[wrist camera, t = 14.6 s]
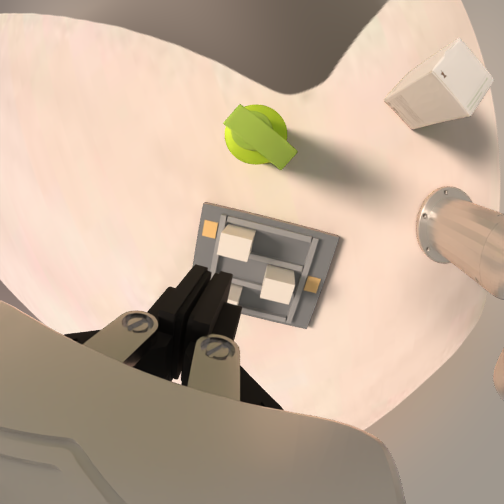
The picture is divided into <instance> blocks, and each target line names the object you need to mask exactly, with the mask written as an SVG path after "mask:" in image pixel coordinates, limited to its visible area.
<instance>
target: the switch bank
mask: <svg viewBox="0 0 504 504" xmlns="http://www.w3.org/2000/svg"><path fill="white" fill-rule="evenodd" d="M228 224H232V225H237V226H241V227H245V228H249V229H253V230H256V233H255V237H254V241H253V245H252V250H251V253H250V255H249V258H248V261H247V262H244V261H240V260H236V259H232V258H229V257H225V256H221V255H217V251H218V246H219V241H220V235H221V232H222V231H223V230H224V229H225V227H226V226H227V225H228ZM338 240H339V236H338V235H335V234H331V233H328V232H324V231H320V230H317V229H313V228H309V227H305V226H302V225H298V224H294V223H290V222H286V221H282V220H278V219H275V218H271V217H267V216H263V215H258V214H254V213H250V212H246V211H242V210H238V209H234V208H229V207H225V206H221V205H217V204H212V203H208V202H205V203H203V208H202V213H201V219H200V225H199V230H198V236H197V242H196V248H195V255H194V261H193V266H194V265H195V264H197V265H201V266H204V267H208V271H210V272H212V274H211V279H212V277H213V275H214V273H218V274H219V273H220V271H223V272H227V273H231V274H233V278H232V282H231V283H232V284H236V285H240V286H243V287H242V292H241V296H240V300H239V304H238V306H242V311H241V314H244V315H248V316H252V317H256V318H260V319H265V320H269V321H273V322H277V323H282V324H286V325H290V326H295V327H299V328H304V329H307V327H308V324H309V322H310V319H311V317H312V314H313V311H314V309H315V306H316V303H317V301H318V298H319V295H320V293H321V290H322V287H323V284H324V282H325V279H326V276H327V273H328V270H329V267H330V264H331V261H332V258H333V255H334V252H335V249H336V246H337V243H338ZM267 264H269V265H273V266H277V267H281V268H285V269H289V270H293V271H294V278H295V287H294V290H293V293H292V296H291V299H290V302H289V305H288V304H284V303H280V302H275V301H271V300H267V299H263V298H260V294H261V289H262V283H263V279H264V276H265V272H266V268H267Z"/></svg>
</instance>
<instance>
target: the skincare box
mask: <svg viewBox="0 0 504 504" xmlns="http://www.w3.org/2000/svg"><path fill="white" fill-rule="evenodd" d="M493 81H494V79H493V78H492V76H491V75H490V73H489V72H488V71H487V69H486V68H485V67H484V66H483V64H482V63H481V62H480V61H479V60H478V58H477V57H476V56H475V55H474V54H473V52H472V51H471V50H470V49H469V48H468V47H467V45H466V44H465V43H464V42H463V41H462V40H461V39H460V38H458V39H456V40H454V41H453V42H452V43H450V44H449V45H447V46H446V47H444V48H443V49H441V50H440V51H438V52H437V53H435V54H434V55H432V56H431V57H430V58H428V59H427V60H425V61H424V62H423V63H421V64H420V65H418V66H417V67H415V68H414V69H412V70H411V71H410V72H408V73H407V74H406V75H405V76H404V78H403V79H402V80H401V81H400V82H399V83H398V84H397V85H396V86H395V87H394V88H393V90H392V91H391V92H390V93H389V94H388V95H387V96H386V98H385V99H384V101H385V102H386V103H387V104H388V105H389V106H390V107H391V108H392V109H393V110H394V111H395V112H396V113H397V114H398V115H399V116H400V117H401V118H402V120H403V121H404V122H405V123H406V124H407V125H408V126H409V127H410V128H411V129H412V130H413V129H417V128H421V127H425V126H429V125H433V124H437V123H441V122H446V121H450V120H455V119H460V118H465V117H471V115H472V114H473V112H474V111H475V109H476V108H477V106H478V105H479V103H480V102H481V100H482V99H483V97H484V96H485V94H486V93H487V91H488V90H489V88H490V86H491V84H492V83H493Z"/></svg>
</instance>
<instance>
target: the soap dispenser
mask: <svg viewBox="0 0 504 504" xmlns="http://www.w3.org/2000/svg"><path fill="white" fill-rule="evenodd" d="M223 124H224V125H225V126H226V128H225V141H226V145H227V147H228V149H229V150H230V152H231V153H232V154H233V155H234V156H235V157H236V158H237V159H239V160H240V161H242V162H245V163H248V164H265V163H272V164H273V165H275V166H276V167H277V168H278V169H279V170H282V169H283V168H284V167H285V166H286V165H287V163H288V162H289V161H290V160H291V159H292V158H293V157H294V156H295V155H296V153H297V152H298V151H297V150H296V149H295V148H294V147H293V146H291V145H290V144H289V143H288V142H287V128H286V125H285V122H284V120H283V119H282V117H281V116H280V115H279V114H278V113H277V112H276V111H275V110H273V109H271V108H269V107H267V106H264V105H249V106H245V107H243V106H242V105H241V104H239V106H238V107H237V108H236V109H235V110H234V111H233V112H232V113H231V115H230V116H229V117H228V118H227V119H226V120H225V122H224V123H223Z"/></svg>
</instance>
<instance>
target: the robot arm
mask: <svg viewBox="0 0 504 504" xmlns="http://www.w3.org/2000/svg"><path fill="white" fill-rule="evenodd" d="M423 214H424V215H423ZM416 232H417V239H418V242H419V245H420V247H421V249H422V251H423V252H424V253H425V255H427V256H428V257H429V258H430V259H432V260H433V261H435V262H438V263H449V262H451V263H453V264H454V265H455V266H457V267H458V268H459V269H461V270H462V271H463V272H465V273H466V274H467V275H468V276H470V277H471V278H472V279H473V280H475V281H476V282H477V283H478V284H480V285H481V286H482V287H483V288H485V289H486V290H487V291H488V292H490V293H491V294H492V295H493V296H495V297H497V298H499V299H502V300H504V214H502V213H500V212H497V211H494V210H491V209H489V208H486V207H483V206H480V205H477V204H474V203H472V201H471V199H470V198H469V196H468V195H467V194H466V193H465V192H463V191H462V190H460V189H458V188H455V187H450V186H447V187H441V188H438V189H436V190H435V191H433V192H432V193H431V194H430V195H429V196H428V197H427V198H426V199H425V201H424V202H423V204H422V206H421V208H420V211H419V214H418V218H417V225H416ZM426 248H427V249H426ZM211 274H212V272H210V271H208V267H204V266H201V265H197V264H195V265H194V266H193V268H192V269H191V270H190V271H189V272H188V274H187V275H186V276H185V277H184V279H183V280H182V281H181V282H180V284H179V285H178V286H177V287H176V288H173V287H168V288H167V289H166V291H165V292H164V293H163V294H162V295H161V296H160V298H159V299H158V300H157V301H156V302H155V303H154V305H153V306H152V307H151V308H150V309H149V311H148V312H144V311H129V312H126V313H124V314H122V315H120V316H119V317H118V318H116V319H115V320H114V321H112V322H111V323H110V324H108V325H107V326H106V327H105V328H103V329H102V330H95V331H88V332H80V333H72V334H65V335H62V334H60V333H59V332H57V331H55V330H53V329H51V328H49V327H48V326H46V325H44V324H42V323H41V322H39V321H37V320H35V319H34V318H32V317H31V316H29V315H27V314H25V313H24V312H22V311H20V310H19V309H17V308H15V307H13V306H11V305H9V304H7V303H5V302H3V301H1V300H0V504H406V501H405V497H404V492H403V487H402V483H401V479H400V476H399V472H398V470H397V467H396V464H395V462H394V459H393V457H392V455H391V453H390V451H389V450H388V448H387V447H386V446H385V444H384V443H383V442H382V441H380V440H379V439H378V438H377V437H375V436H373V435H372V434H370V433H368V432H366V431H364V430H361V429H359V428H356V427H354V426H351V425H349V424H345V423H341V422H338V421H335V420H331V419H326V418H321V417H317V416H311V415H305V414H300V413H294V412H289V411H284V410H283V409H282V407H281V406H280V405H279V404H278V403H277V402H276V401H275V400H274V399H273V398H272V397H271V396H270V395H269V394H268V393H267V392H266V391H265V390H264V389H263V388H262V387H261V386H260V385H259V384H258V383H257V382H256V381H255V380H254V379H253V378H252V377H251V376H250V375H249V374H248V373H247V372H246V371H245V370H244V369H243V368H242V367H241V366H240V350H239V347H238V345H237V344H236V343H235V342H234V338H235V335H236V331H237V327H238V323H239V319H240V315H241V311H242V306H238V305H234V304H230V303H227V301H228V296H229V292H230V287H231V282H232V278H233V274H231V273H227V272H223V271H220V273H219V274H218V273H214V275H213V277H212V279H211ZM181 371H182V373H181ZM180 373H181V381H182V385H180V384H177V383H174V382H172V379H173V378H174V379H178V378H179V375H180ZM493 382H494V386H495V389H496V391H497V393H498V394H499V396H500V397H501V398H502V400H503V401H504V348H503V350H502V352H501V354H500V356H499V358H498V360H497V363H496V365H495V369H494V374H493Z"/></svg>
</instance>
